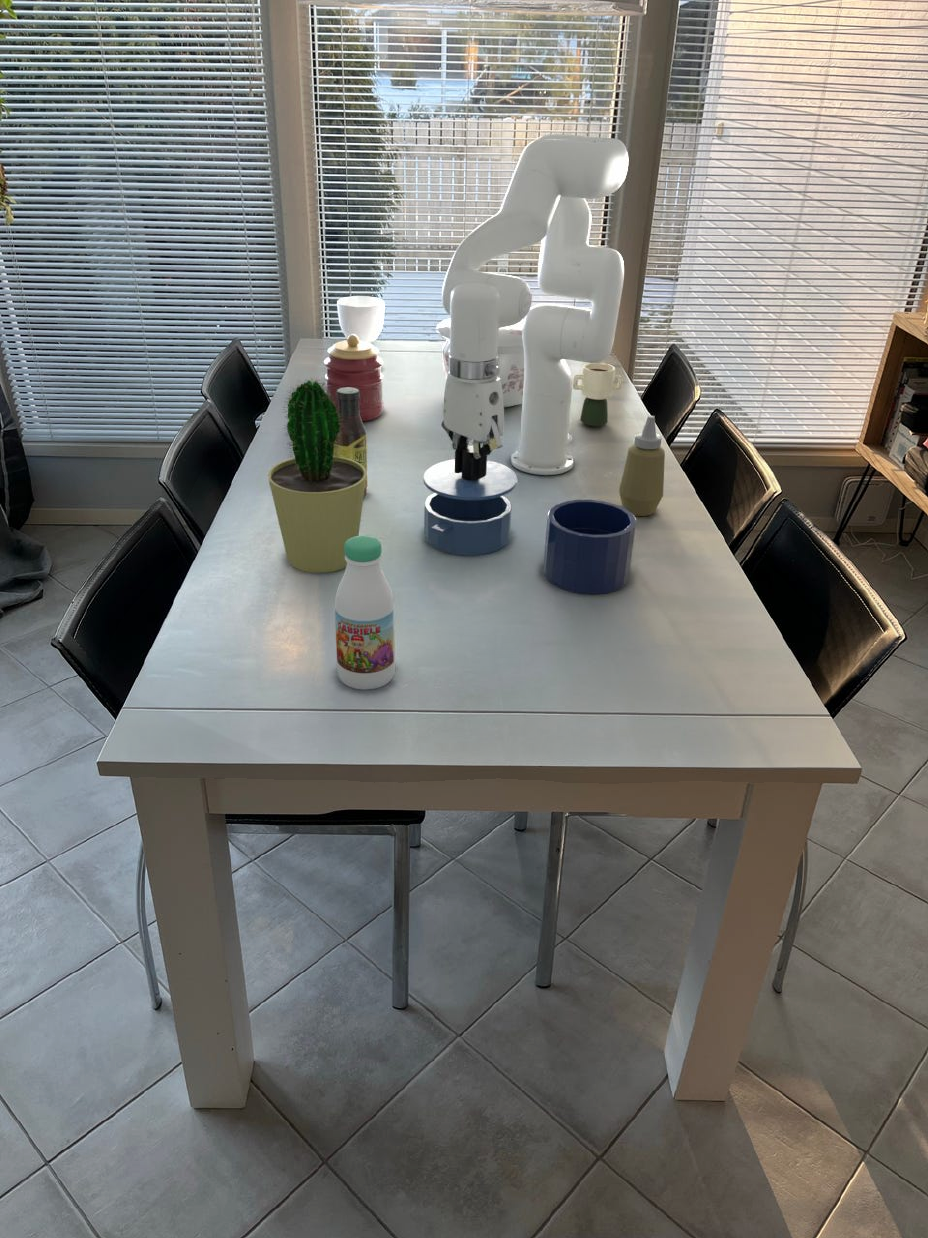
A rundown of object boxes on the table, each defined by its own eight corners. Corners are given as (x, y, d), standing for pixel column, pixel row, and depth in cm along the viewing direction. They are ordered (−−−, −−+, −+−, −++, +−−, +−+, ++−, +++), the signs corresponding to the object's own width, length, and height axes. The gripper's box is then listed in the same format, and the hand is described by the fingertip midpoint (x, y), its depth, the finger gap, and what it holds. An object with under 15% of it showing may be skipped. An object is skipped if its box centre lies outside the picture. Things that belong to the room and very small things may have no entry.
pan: (399, 547, 163) (399, 514, 160) (460, 506, 178) (461, 475, 175) (474, 569, 157) (476, 536, 154) (530, 525, 172) (533, 494, 168)
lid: (405, 489, 160) (404, 454, 157) (454, 457, 172) (454, 424, 168) (488, 512, 154) (489, 476, 150) (533, 477, 165) (535, 443, 162)
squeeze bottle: (663, 505, 181) (677, 412, 171) (656, 522, 174) (670, 427, 165) (621, 498, 183) (632, 406, 173) (612, 515, 176) (624, 420, 167)
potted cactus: (372, 576, 154) (368, 392, 138) (274, 581, 151) (259, 395, 136) (365, 533, 167) (360, 361, 151) (274, 538, 164) (260, 363, 149)
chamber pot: (462, 424, 215) (465, 330, 204) (417, 387, 236) (418, 300, 225) (572, 411, 225) (580, 320, 214) (520, 376, 246) (525, 293, 235)
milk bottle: (338, 659, 133) (332, 528, 123) (394, 658, 134) (393, 528, 123) (336, 692, 127) (330, 557, 116) (395, 690, 127) (394, 556, 117)
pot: (565, 546, 165) (570, 492, 160) (641, 567, 159) (649, 512, 154) (528, 579, 155) (532, 522, 149) (608, 603, 149) (615, 545, 144)
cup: (339, 362, 252) (337, 295, 243) (384, 362, 253) (383, 295, 244) (339, 376, 242) (336, 306, 233) (386, 376, 243) (385, 307, 234)
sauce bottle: (362, 503, 178) (359, 397, 167) (329, 499, 179) (324, 394, 168) (372, 489, 183) (369, 386, 173) (340, 485, 184) (336, 383, 174)
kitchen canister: (394, 416, 218) (393, 338, 209) (343, 426, 212) (340, 345, 202) (366, 400, 227) (364, 324, 218) (316, 409, 221) (312, 331, 211)
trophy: (613, 418, 221) (619, 362, 214) (620, 429, 215) (627, 371, 208) (566, 418, 220) (571, 362, 213) (572, 429, 214) (577, 371, 207)
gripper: (527, 374, 149) (521, 483, 159) (454, 350, 159) (452, 454, 169) (494, 384, 145) (489, 496, 155) (420, 359, 155) (421, 465, 164)
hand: (470, 473), depth 162 cm, fingers closed on lid, 3 cm apart
